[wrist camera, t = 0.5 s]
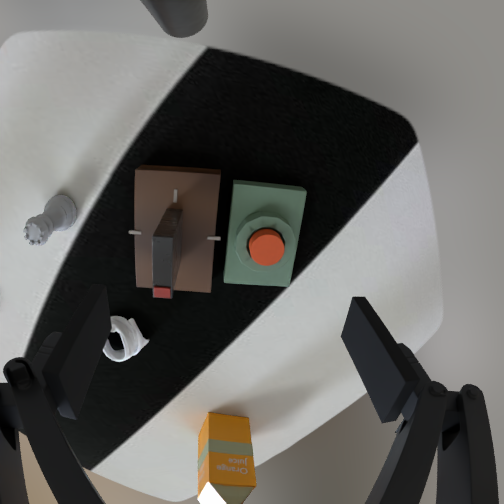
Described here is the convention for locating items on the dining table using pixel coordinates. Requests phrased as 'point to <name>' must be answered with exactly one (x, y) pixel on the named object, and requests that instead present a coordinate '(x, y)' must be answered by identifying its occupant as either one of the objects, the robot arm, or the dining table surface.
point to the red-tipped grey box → (167, 253)
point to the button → (266, 247)
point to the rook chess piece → (51, 220)
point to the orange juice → (225, 460)
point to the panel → (193, 227)
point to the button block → (262, 217)
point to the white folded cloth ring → (125, 339)
